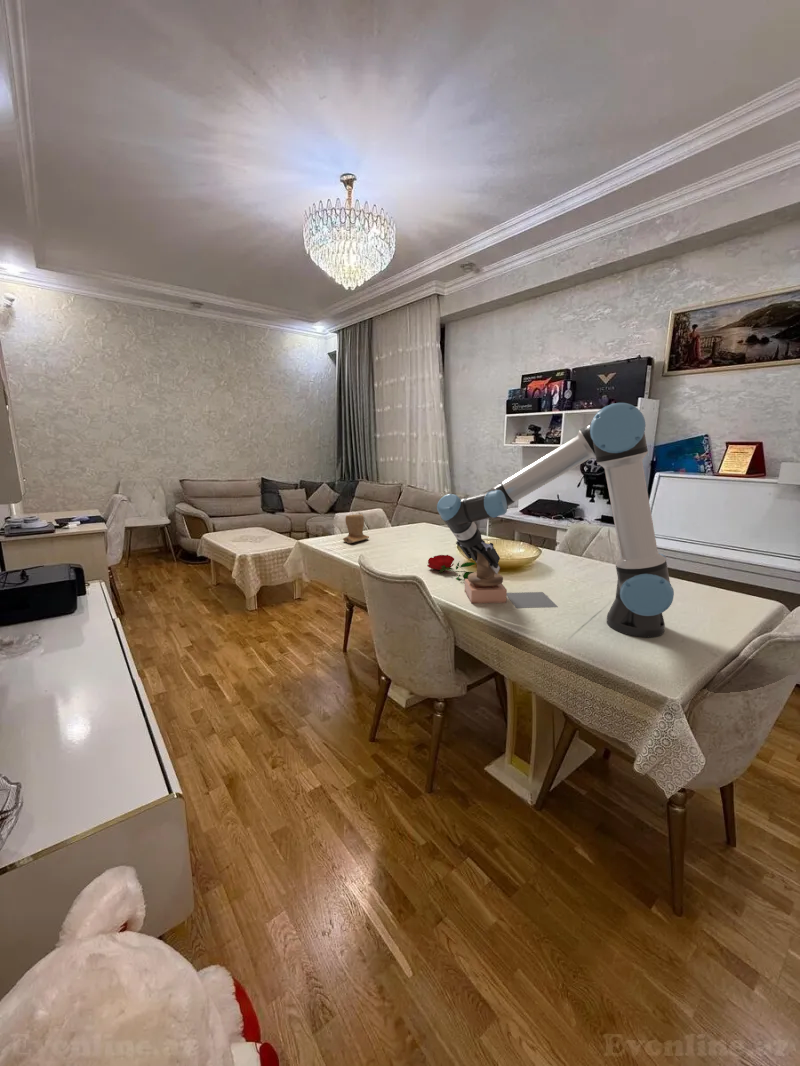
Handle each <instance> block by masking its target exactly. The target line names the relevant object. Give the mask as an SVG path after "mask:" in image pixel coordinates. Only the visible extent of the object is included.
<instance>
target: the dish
mask: <svg viewBox="0 0 800 1066" xmlns="http://www.w3.org/2000/svg"><path fill="white" fill-rule="evenodd" d="M502 583H503V582H502ZM502 583H501V584H499V585H495V586H481V585H476V584H473V583H471V582H469V581H468V579H464V593H465V595H466V597H467V599H468V601H469V602H470V604H502V603H504V604H505V603H507V593H508V592H507V591H508V589H507V588H506V587H505V585H504V584H502Z"/></svg>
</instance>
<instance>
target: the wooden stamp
mask: <svg viewBox="0 0 800 1066" xmlns="http://www.w3.org/2000/svg"><path fill="white" fill-rule="evenodd" d="M345 524H346V527H347V532H348V535H347V536H346V537H344V538H342V540H343V541H344V542H345V543H346V542H347V544H353V543H359V542H360V541H365V540H367V539H369V538H370V536H368V535H366V534H364V533H363V531H364V526H365V518H364V515H363V514H362V513H360V514H355V513H354V514H347V515H345Z"/></svg>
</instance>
